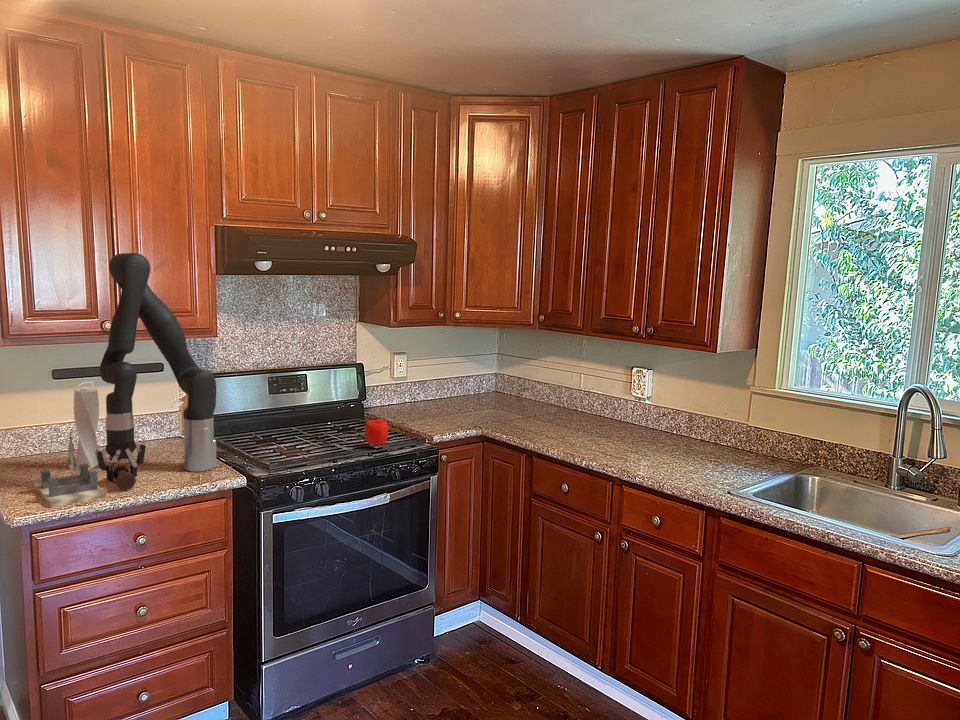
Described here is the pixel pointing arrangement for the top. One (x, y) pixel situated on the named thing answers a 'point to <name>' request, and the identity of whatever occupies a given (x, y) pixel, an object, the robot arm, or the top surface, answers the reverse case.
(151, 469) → the top surface
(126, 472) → the bolt
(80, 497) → the collar board
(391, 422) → the top surface
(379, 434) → the apple
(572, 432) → the top surface
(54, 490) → the grey notched cradle
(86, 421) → the skyscraper
